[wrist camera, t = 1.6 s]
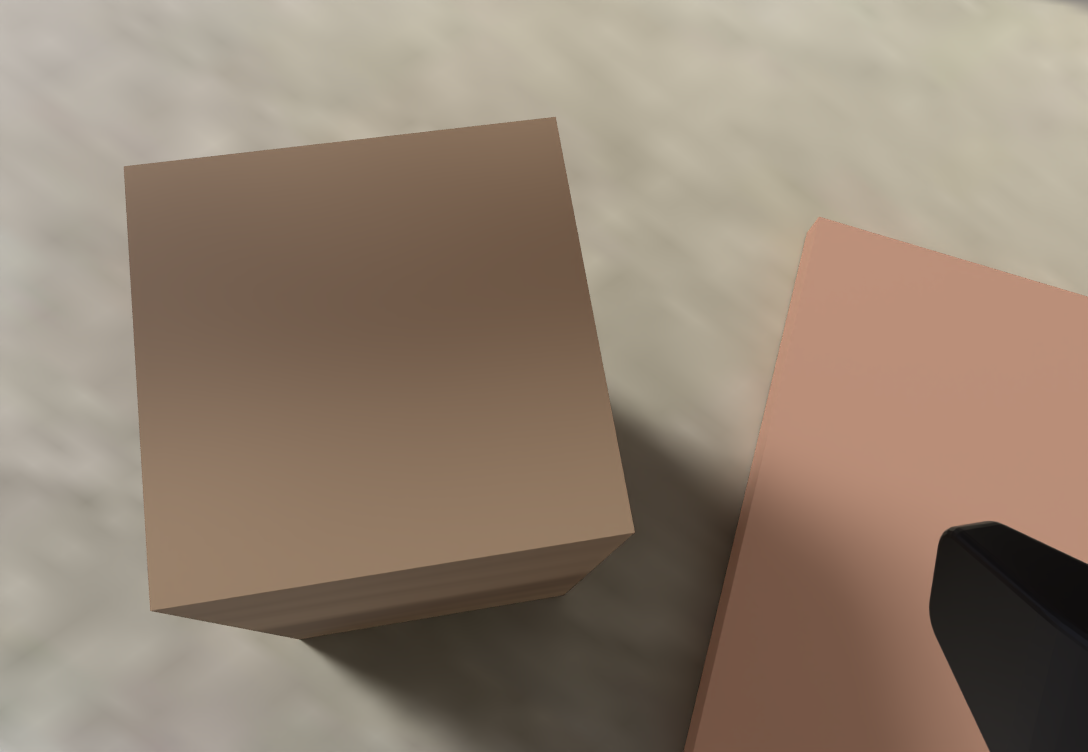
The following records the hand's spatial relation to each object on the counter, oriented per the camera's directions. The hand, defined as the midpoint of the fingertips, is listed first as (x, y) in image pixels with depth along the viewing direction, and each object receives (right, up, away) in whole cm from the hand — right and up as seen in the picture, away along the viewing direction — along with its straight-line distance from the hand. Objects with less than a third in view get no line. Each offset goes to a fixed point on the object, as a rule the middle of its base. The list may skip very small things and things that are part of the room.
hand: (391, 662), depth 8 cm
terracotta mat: (+11, -2, +12) cm, 16 cm away
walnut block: (-1, 0, +12) cm, 12 cm away
